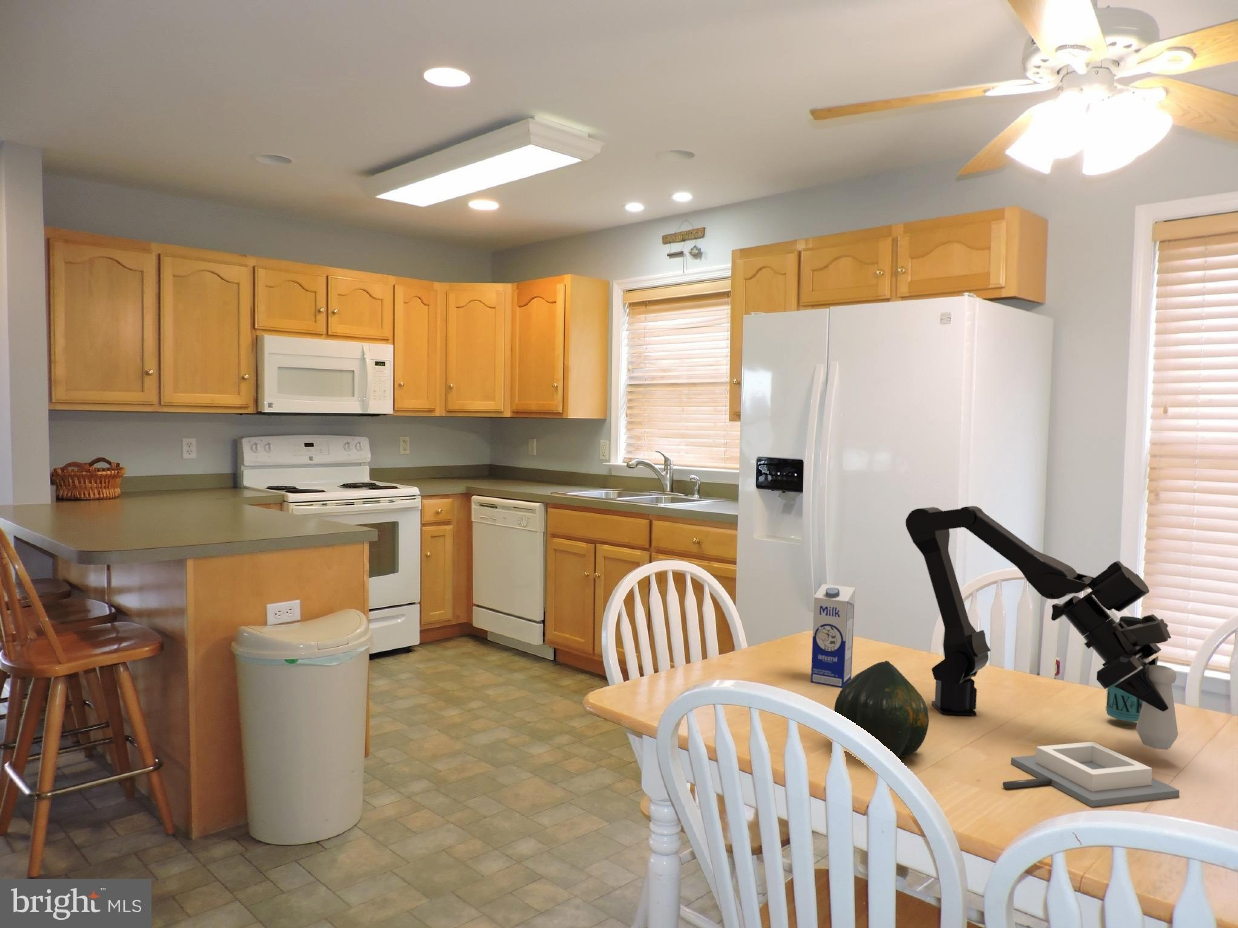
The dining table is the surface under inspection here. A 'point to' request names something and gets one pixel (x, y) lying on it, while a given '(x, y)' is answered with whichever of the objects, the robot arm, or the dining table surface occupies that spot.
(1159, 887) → the dining table surface
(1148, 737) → the salt shaker
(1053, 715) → the dining table surface
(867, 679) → the squash
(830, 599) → the milk carton
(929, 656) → the dining table surface
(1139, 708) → the beverage bottle
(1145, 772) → the dock
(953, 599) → the robot arm
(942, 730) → the dining table surface
